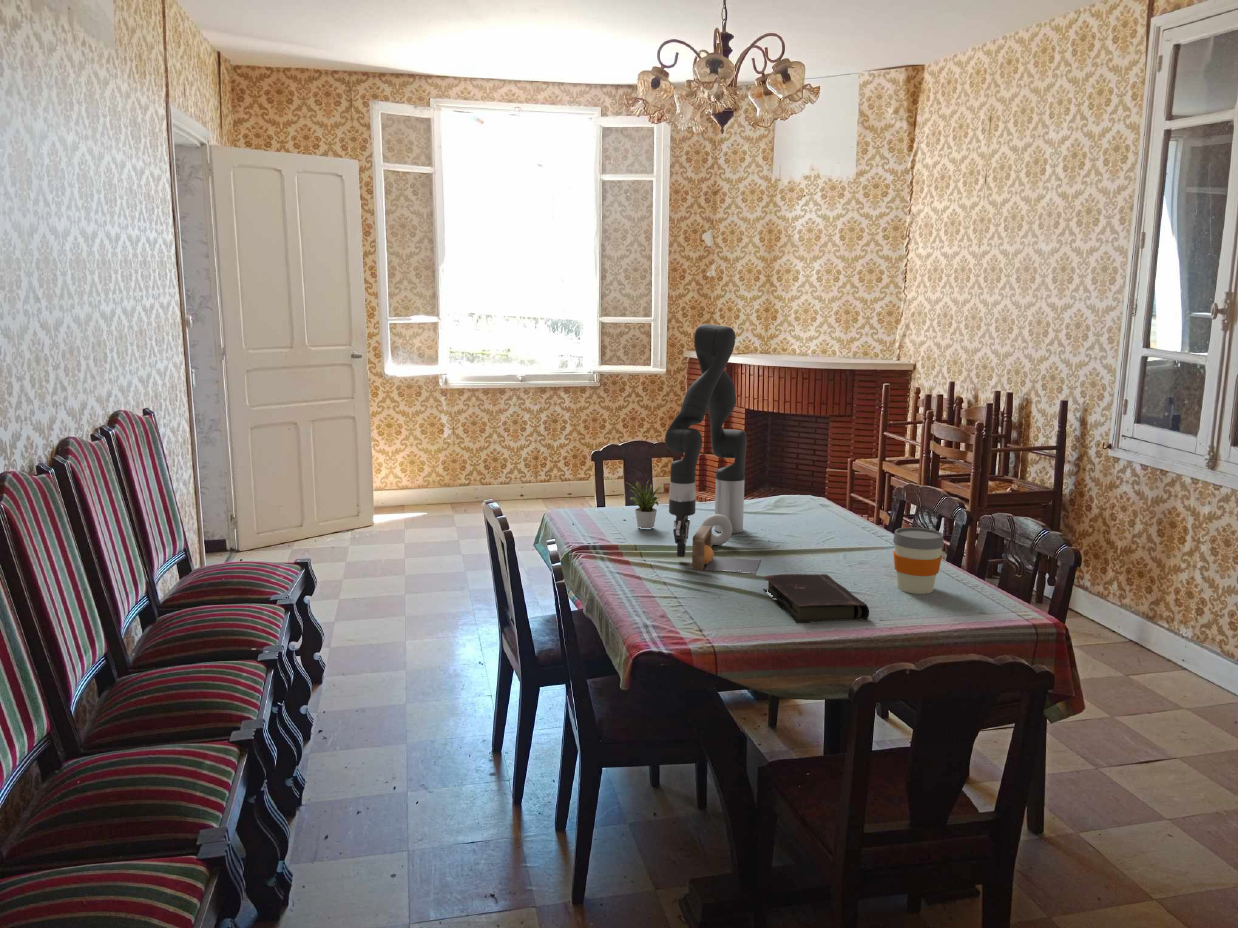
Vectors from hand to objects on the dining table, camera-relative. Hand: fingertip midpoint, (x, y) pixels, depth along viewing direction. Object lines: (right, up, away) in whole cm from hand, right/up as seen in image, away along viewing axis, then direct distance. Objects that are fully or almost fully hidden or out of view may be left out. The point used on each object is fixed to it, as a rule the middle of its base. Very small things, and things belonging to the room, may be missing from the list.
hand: (681, 556), depth 268 cm
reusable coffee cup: (+60, -6, -23) cm, 65 cm away
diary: (+30, -9, -37) cm, 48 cm away
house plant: (-10, +5, +39) cm, 40 cm away
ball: (+6, +1, -3) cm, 7 cm away
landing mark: (+15, -2, -4) cm, 15 cm away
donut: (+12, +1, +18) cm, 21 cm away
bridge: (+6, -2, -1) cm, 6 cm away
